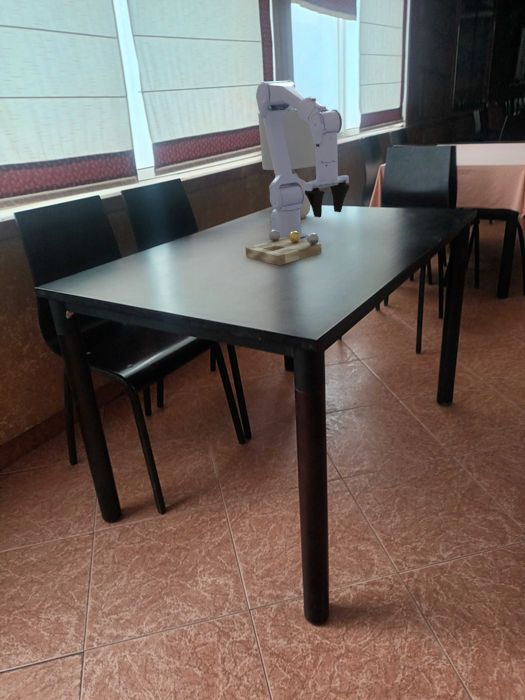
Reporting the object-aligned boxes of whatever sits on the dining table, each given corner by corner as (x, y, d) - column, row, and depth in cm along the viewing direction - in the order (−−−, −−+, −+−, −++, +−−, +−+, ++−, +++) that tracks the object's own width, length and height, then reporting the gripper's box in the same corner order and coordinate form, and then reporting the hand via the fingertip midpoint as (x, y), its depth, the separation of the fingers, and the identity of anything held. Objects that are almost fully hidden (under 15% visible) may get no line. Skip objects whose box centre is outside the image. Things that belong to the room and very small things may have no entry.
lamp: (270, 214, 194) (262, 111, 179) (322, 211, 191) (318, 105, 175) (263, 225, 176) (253, 111, 160) (320, 222, 173) (316, 105, 157)
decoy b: (304, 245, 135) (304, 233, 133) (313, 242, 136) (313, 231, 135) (312, 246, 132) (312, 235, 131) (321, 244, 134) (321, 232, 133)
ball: (287, 242, 139) (286, 231, 138) (295, 240, 141) (295, 229, 139) (294, 244, 137) (293, 232, 135) (303, 241, 138) (302, 230, 137)
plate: (246, 256, 139) (245, 247, 138) (287, 245, 147) (286, 236, 146) (278, 265, 128) (278, 255, 127) (321, 252, 136) (321, 243, 135)
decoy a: (267, 241, 143) (266, 230, 142) (276, 238, 145) (275, 227, 143) (274, 242, 141) (273, 231, 139) (283, 240, 142) (282, 229, 141)
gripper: (316, 165, 122) (318, 220, 128) (357, 158, 130) (357, 210, 136) (298, 164, 128) (300, 218, 134) (338, 158, 135) (338, 208, 141)
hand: (327, 214), depth 135 cm, fingers open, 7 cm apart
